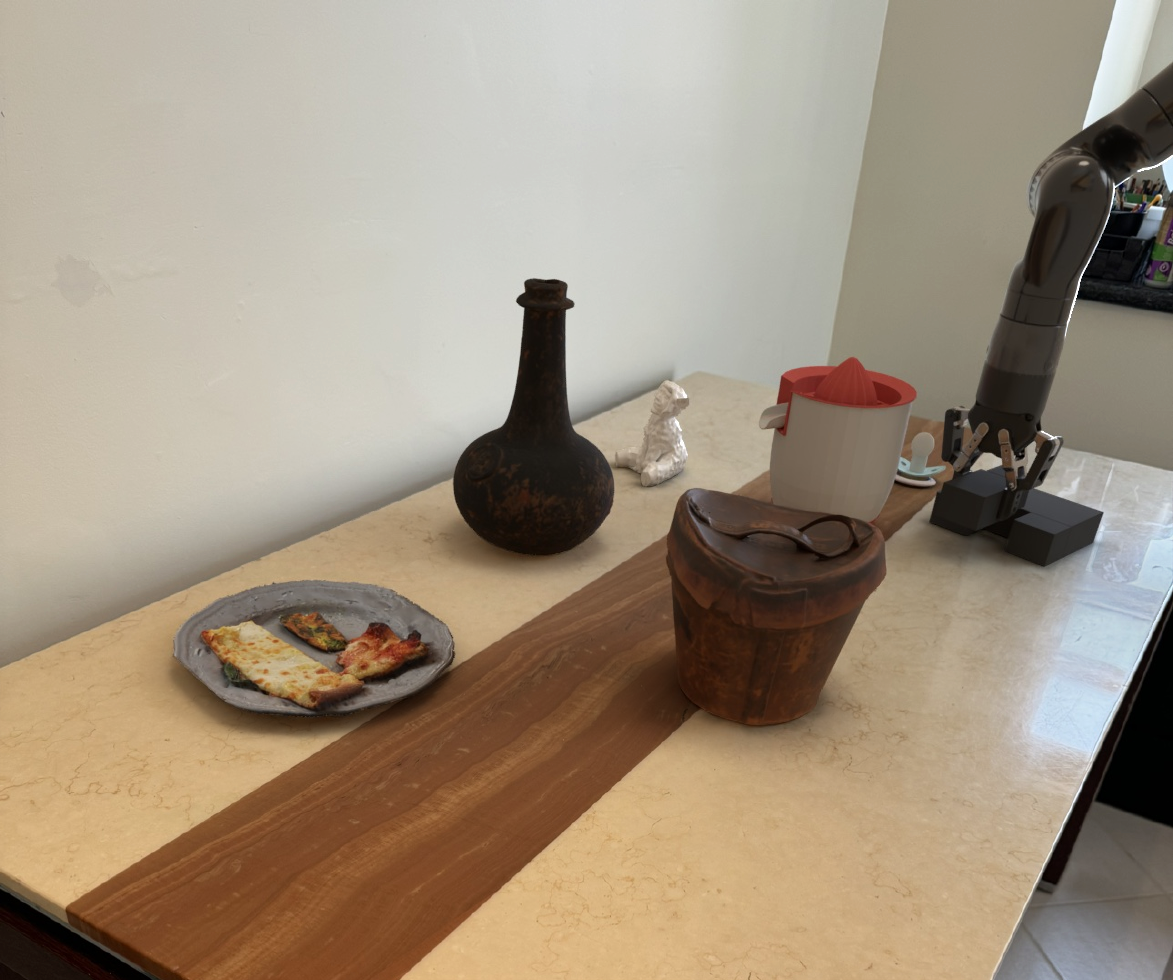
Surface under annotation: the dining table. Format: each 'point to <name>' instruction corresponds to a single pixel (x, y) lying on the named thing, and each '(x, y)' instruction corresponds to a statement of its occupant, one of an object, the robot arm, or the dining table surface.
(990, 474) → the pad
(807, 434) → the citrus juicer
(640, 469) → the seated beast figurine
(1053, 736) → the dining table surface
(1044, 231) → the robot arm
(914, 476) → the pacifier
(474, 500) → the glass bottle
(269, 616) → the food plate
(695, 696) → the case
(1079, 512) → the socket pad
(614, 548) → the dining table surface
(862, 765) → the dining table surface
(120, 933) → the dining table surface
